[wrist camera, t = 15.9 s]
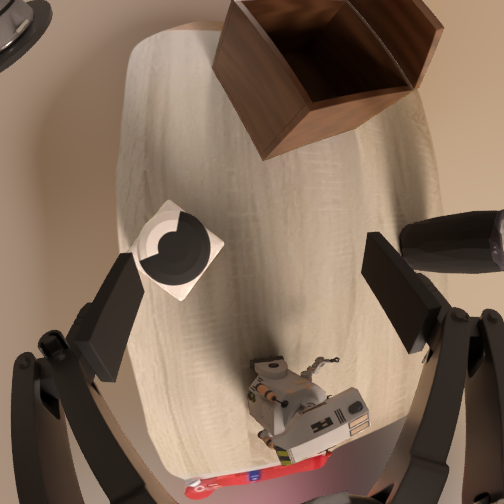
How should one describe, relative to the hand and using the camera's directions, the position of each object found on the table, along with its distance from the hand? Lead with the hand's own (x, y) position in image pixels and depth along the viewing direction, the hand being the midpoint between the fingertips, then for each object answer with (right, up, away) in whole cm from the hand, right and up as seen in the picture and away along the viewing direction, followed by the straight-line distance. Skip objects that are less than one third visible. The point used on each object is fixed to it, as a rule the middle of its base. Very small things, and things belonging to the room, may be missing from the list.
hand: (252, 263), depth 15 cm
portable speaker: (+27, +1, +28) cm, 39 cm away
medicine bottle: (-9, +1, +18) cm, 20 cm away
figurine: (+4, -17, +21) cm, 27 cm away
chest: (+5, +24, +22) cm, 33 cm away
